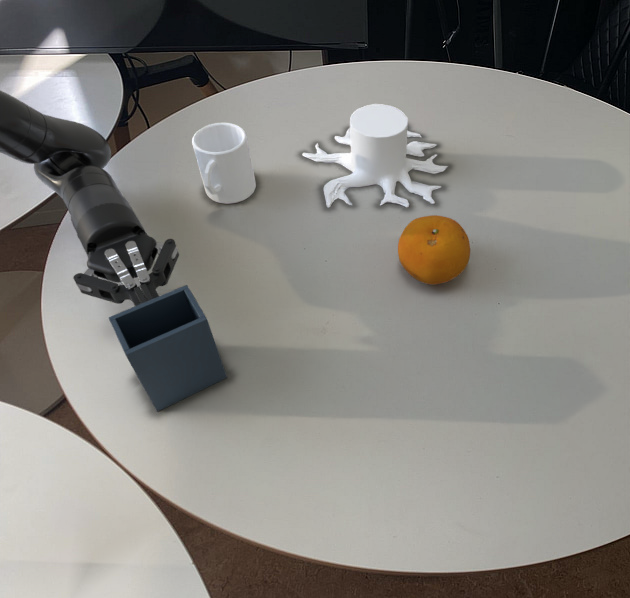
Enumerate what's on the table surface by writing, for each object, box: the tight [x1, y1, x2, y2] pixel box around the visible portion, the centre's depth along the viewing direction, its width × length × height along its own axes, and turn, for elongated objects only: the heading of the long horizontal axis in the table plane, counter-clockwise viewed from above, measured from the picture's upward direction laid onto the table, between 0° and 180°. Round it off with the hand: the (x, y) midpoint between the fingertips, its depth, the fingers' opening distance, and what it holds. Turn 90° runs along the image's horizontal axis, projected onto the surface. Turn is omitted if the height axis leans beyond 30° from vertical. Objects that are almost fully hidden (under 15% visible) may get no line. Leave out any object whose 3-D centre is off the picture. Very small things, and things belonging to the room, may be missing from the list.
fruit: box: [397, 214, 471, 286], centre depth 86 cm, size 10×10×8 cm
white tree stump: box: [301, 103, 449, 209], centre depth 100 cm, size 23×25×9 cm
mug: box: [191, 122, 257, 205], centre depth 94 cm, size 8×12×10 cm
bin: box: [108, 284, 228, 413], centre depth 71 cm, size 6×9×12 cm, turn 124°
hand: (152, 311), depth 70 cm, fingers closed
